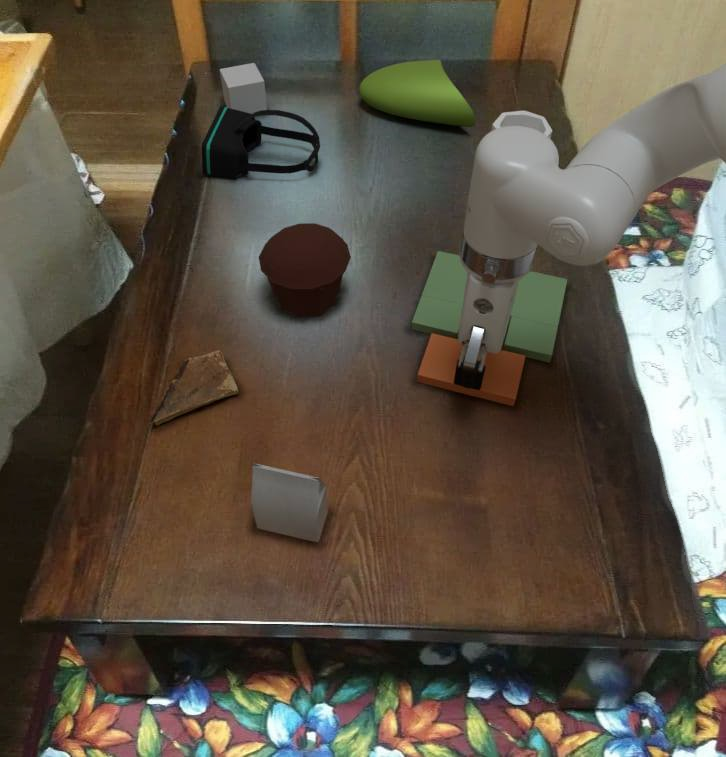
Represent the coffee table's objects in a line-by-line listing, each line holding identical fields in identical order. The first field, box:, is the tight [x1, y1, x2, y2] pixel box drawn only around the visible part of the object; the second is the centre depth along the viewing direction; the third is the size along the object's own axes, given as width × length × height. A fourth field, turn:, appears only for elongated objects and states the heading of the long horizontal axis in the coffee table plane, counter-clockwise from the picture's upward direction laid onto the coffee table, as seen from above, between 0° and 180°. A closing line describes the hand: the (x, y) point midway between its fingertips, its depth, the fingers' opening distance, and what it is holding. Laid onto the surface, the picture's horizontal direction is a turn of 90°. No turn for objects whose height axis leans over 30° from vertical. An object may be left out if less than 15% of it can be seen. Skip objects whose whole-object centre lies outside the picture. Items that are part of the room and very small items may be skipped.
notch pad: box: [410, 250, 568, 364], centre depth 97 cm, size 18×14×2 cm
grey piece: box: [250, 463, 329, 543], centre depth 74 cm, size 4×7×10 cm, turn 76°
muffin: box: [258, 222, 352, 319], centre depth 95 cm, size 12×11×10 cm
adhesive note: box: [219, 62, 268, 114], centre depth 123 cm, size 6×6×6 cm
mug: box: [490, 110, 553, 139], centre depth 111 cm, size 12×9×10 cm
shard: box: [149, 350, 240, 426], centre depth 88 cm, size 11×8×2 cm
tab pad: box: [416, 333, 527, 407], centre depth 89 cm, size 12×11×8 cm
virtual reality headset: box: [201, 105, 321, 179], centre depth 113 cm, size 11×17×10 cm, turn 81°
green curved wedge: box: [358, 59, 476, 128], centre depth 122 cm, size 8×12×20 cm
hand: (475, 354), depth 88 cm, fingers open, 9 cm apart
